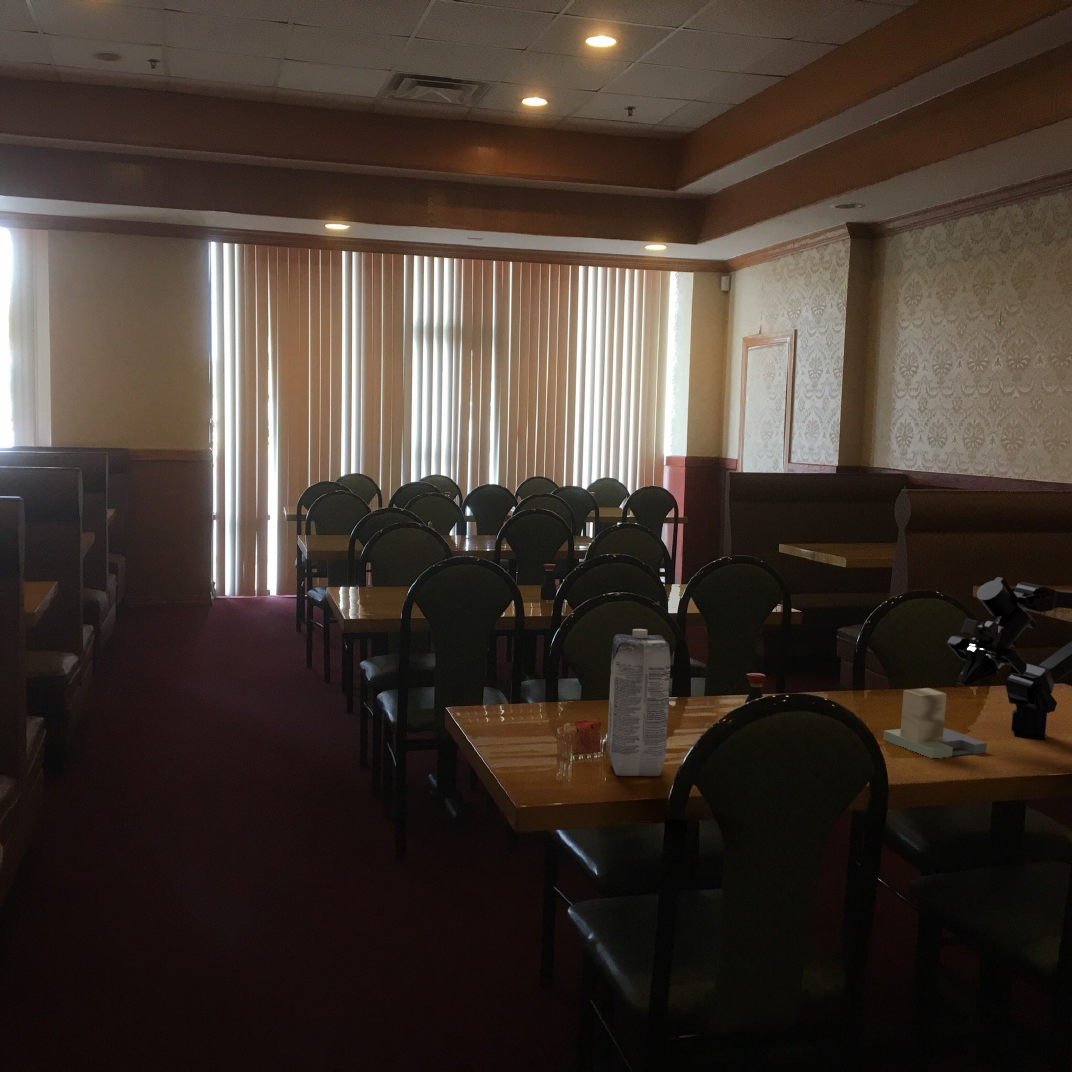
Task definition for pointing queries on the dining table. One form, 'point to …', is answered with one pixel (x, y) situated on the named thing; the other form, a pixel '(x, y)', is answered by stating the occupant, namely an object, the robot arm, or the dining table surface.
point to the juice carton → (638, 704)
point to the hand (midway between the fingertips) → (962, 684)
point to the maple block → (923, 715)
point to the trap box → (939, 744)
